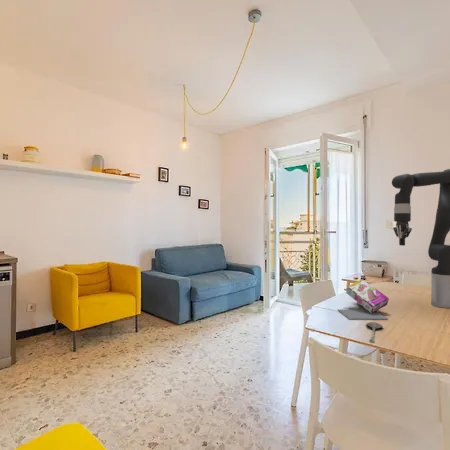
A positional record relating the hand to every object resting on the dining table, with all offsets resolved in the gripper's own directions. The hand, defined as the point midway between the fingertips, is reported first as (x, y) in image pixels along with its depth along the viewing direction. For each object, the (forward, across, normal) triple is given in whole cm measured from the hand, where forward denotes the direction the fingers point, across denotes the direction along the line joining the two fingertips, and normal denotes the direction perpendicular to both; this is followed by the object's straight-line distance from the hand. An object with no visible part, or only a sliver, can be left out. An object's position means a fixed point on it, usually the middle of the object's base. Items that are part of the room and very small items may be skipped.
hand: (402, 245), depth 155 cm
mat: (+33, -13, +27) cm, 45 cm away
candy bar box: (+29, -12, +17) cm, 36 cm away
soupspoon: (+34, -36, +33) cm, 59 cm away
